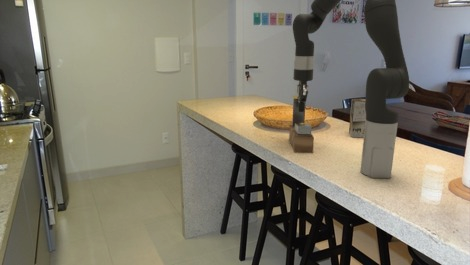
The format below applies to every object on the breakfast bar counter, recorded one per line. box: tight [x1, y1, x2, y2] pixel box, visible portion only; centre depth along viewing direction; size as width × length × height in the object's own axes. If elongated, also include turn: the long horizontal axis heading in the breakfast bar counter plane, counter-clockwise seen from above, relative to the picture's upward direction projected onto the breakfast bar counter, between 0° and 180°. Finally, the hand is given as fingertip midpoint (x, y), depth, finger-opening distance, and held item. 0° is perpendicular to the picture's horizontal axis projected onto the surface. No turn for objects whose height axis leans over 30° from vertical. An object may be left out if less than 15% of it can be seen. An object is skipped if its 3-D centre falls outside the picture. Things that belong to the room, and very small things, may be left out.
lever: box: [291, 95, 307, 125], centre depth 145 cm, size 1×5×12 cm, turn 88°
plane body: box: [288, 124, 315, 154], centre depth 139 cm, size 18×7×7 cm, turn 178°
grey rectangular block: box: [295, 123, 313, 134], centre depth 134 cm, size 9×5×4 cm, turn 178°
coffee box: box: [348, 98, 366, 139], centre depth 154 cm, size 9×6×16 cm
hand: (301, 111), depth 140 cm, fingers closed
